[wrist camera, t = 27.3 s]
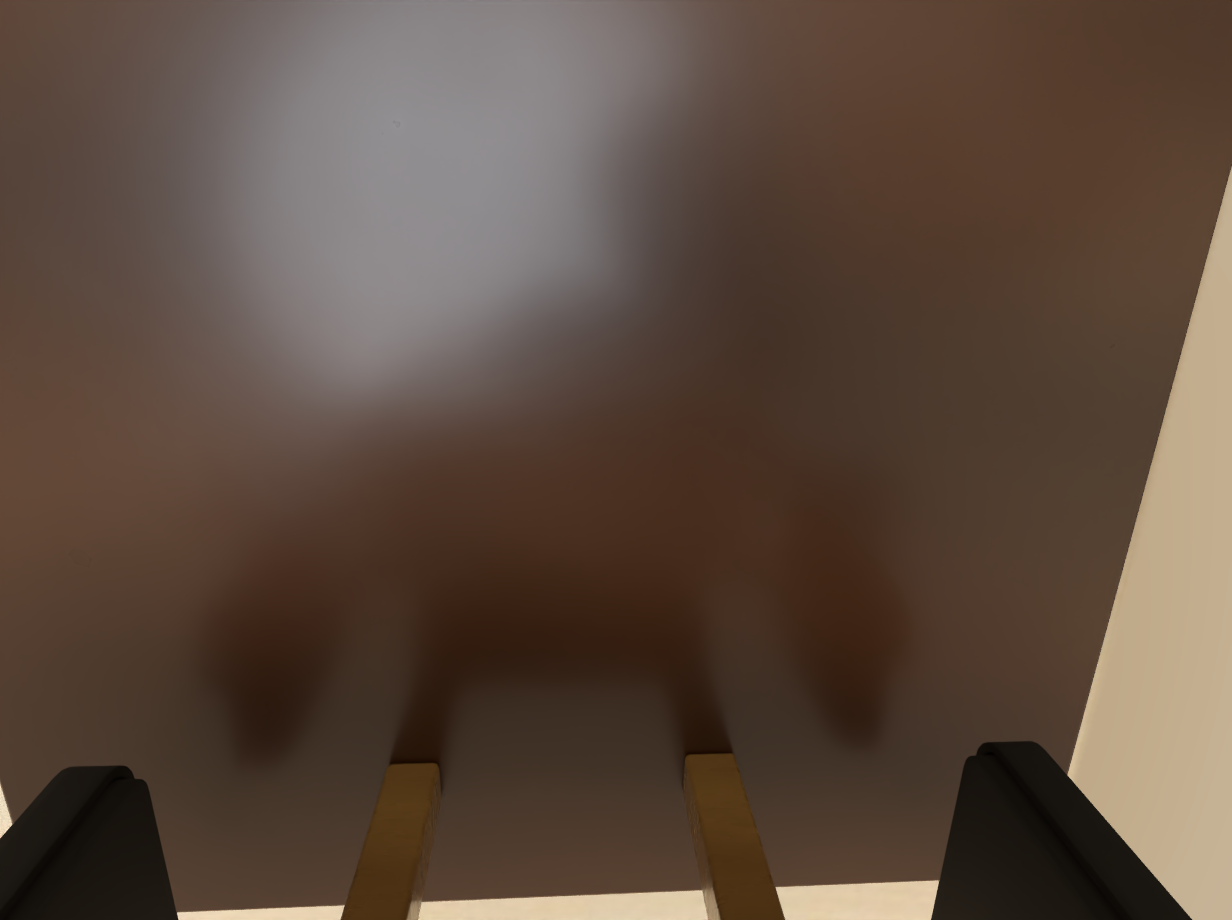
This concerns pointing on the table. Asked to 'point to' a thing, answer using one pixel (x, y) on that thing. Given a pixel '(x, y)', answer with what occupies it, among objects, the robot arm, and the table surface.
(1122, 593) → the table surface
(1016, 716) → the lid
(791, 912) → the table surface
